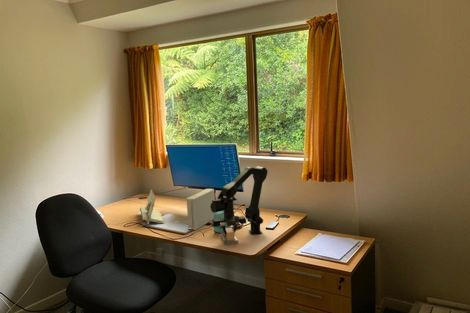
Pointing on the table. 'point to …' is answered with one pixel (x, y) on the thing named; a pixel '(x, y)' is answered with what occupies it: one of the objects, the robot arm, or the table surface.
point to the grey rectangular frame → (229, 241)
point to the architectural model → (151, 211)
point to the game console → (200, 208)
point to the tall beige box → (229, 234)
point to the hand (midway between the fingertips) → (229, 235)
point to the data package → (221, 217)
